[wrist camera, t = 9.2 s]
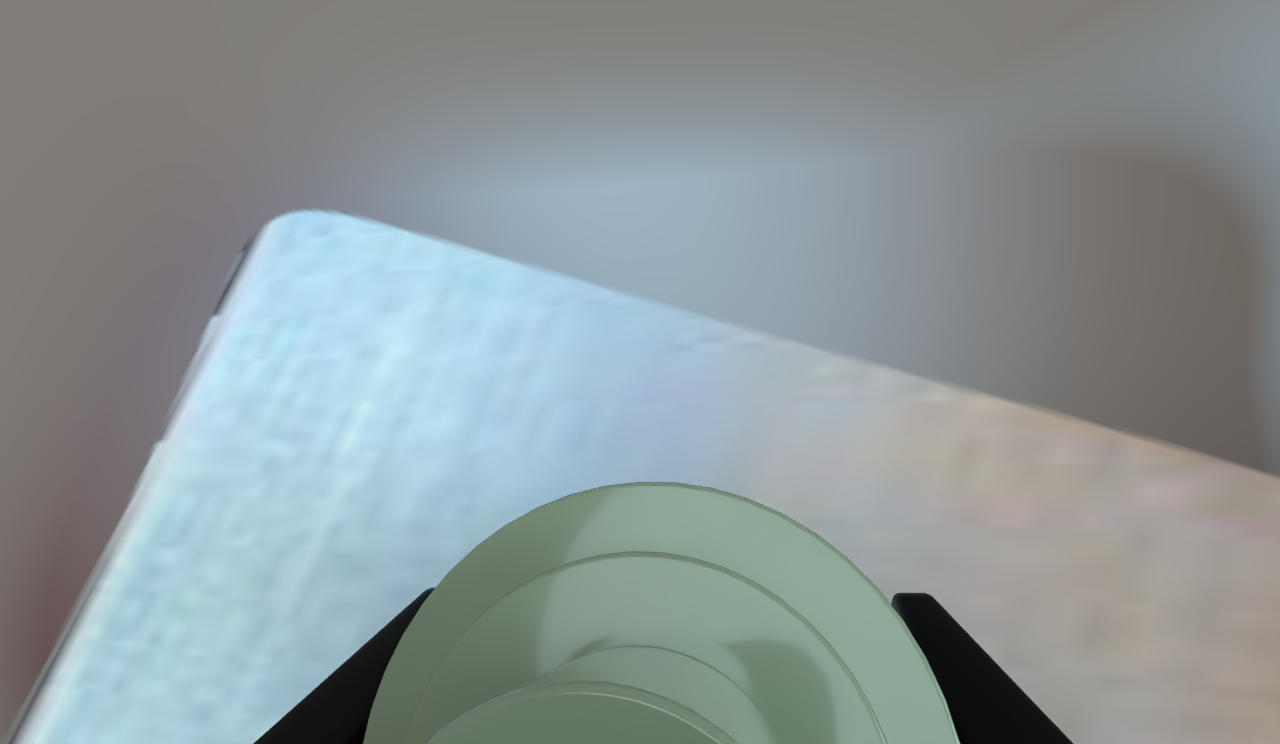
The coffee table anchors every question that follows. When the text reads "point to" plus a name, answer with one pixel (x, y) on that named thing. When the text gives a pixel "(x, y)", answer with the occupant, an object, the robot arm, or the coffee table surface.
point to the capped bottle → (657, 634)
